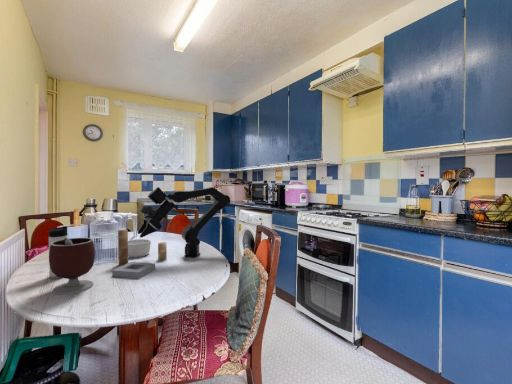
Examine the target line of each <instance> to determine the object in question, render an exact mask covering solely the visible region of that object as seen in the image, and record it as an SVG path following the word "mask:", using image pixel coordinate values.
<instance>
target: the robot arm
mask: <svg viewBox="0 0 512 384" xmlns="http://www.w3.org/2000/svg"><path fill="white" fill-rule="evenodd" d="M205 196H206V197H207V196H211V198H213V199H214V201H213V203H212V205H211V206H210V207H209V208H208V209H207V210H206V211H205V212H204V213H203V214H202V216H201V217H200V218H198V220H197V221H195V223H194V224H187V225H186V227H185V228H183V229H182V232H181V238H182V240H184V242H185V246H184V256H183V257H187V258H189V257H190V258H197V257H198V256H200V255H201V252H200V243H201V240H200V239H199V238H197V237H198V236H199V234H200V232H201V230H202V229H203V227H205V225H207V224H208V222H210V221H211V219H212V218H213V217H214V216H216V214H217V213H218V212H219V211H221V210H223V209H225V208H226V207H227V206H228V205H230V203H231V198H230V196H229V195H227V194H224V193H222V192H221V191H219V190H217V188H215V187H212V186H209V187H206V188H201V189H200V188H198V189H194V190H173V191H171V193H165V192H164V191H163V190H162V189H161V188H160V187H159V186H158V187H156V188H155V189H154V190H152V191H151V192H150V193H149V194H148V195H147V198H148V199H149V200H151V201H152V202H153V203H154V204H155V205H159V206H158V207H156V208H154V209H153V208H152V206H150V205H147V206H145V205H142V206H141V209H139V210H140V211H139V212H140V213H142V214H145V215H144V216H143V218H142V225H141V226H140V228H138V231H137V232H136V233H137V234H138V235H139V237H140V239H143V237H146V236H148V235H150V234H151V235H152V233H155V232H158V231H160V230H161V229H162V227H163V225H162V221H163V220H164V219H166V218H167V217H168V215H169V214H170V213H171V212H172V211H173V210H175V211H179V204H180V203H182V202H186V201H188V200H190V199H194V198H201V197H205ZM169 200H170V201H169ZM176 203H177V204H176Z"/></svg>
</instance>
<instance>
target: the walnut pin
mask: <svg viewBox="0 0 512 384" xmlns="http://www.w3.org/2000/svg"><path fill="white" fill-rule="evenodd" d="M128 231H129V229H119V230H117V239H118V240H117V241H118V247H117V248H118V250H117V251H118V252H117V253H118V266H119V267H121V266H123V265H125V264H127V263H129V257H128V241H129V233H128Z"/></svg>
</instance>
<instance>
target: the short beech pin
mask: <svg viewBox="0 0 512 384" xmlns="http://www.w3.org/2000/svg"><path fill="white" fill-rule="evenodd" d="M167 250H168V249H167V242H165V241H161V242H158V243H157V260H158V261H165V260H167V258H168V257H167V252H168V251H167Z"/></svg>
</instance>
